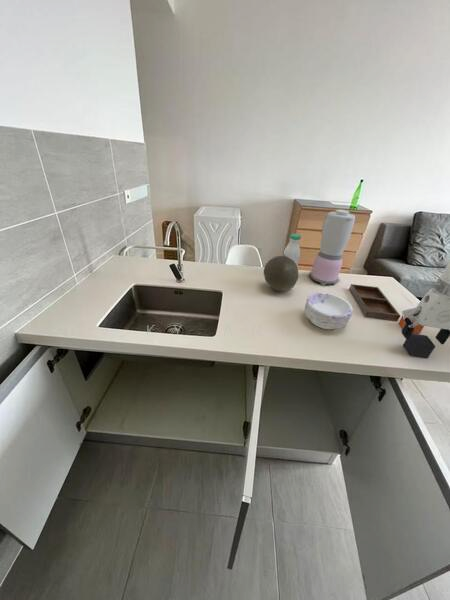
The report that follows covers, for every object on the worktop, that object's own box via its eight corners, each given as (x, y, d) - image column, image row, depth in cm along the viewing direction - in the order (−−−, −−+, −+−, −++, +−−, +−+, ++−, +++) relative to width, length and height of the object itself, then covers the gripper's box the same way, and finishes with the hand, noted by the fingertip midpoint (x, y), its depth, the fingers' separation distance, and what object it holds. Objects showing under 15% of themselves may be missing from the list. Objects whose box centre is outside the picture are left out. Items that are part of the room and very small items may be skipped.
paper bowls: (337, 341, 79) (345, 321, 74) (294, 321, 87) (299, 302, 83) (352, 321, 89) (359, 303, 84) (312, 305, 97) (317, 287, 93)
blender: (341, 285, 113) (366, 214, 97) (319, 287, 110) (340, 214, 94) (322, 271, 126) (340, 206, 110) (301, 272, 123) (316, 206, 107)
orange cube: (412, 325, 89) (419, 313, 86) (419, 333, 84) (426, 322, 82) (398, 323, 89) (404, 312, 86) (404, 331, 85) (410, 320, 82)
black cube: (419, 347, 78) (426, 335, 75) (427, 358, 74) (435, 346, 71) (402, 345, 79) (409, 333, 76) (410, 356, 74) (417, 343, 72)
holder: (375, 292, 109) (378, 287, 108) (397, 321, 90) (400, 315, 89) (349, 289, 110) (350, 284, 109) (364, 317, 92) (367, 311, 90)
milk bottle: (297, 274, 121) (306, 234, 111) (292, 279, 116) (301, 238, 105) (282, 270, 125) (290, 231, 114) (277, 275, 119) (284, 235, 108)
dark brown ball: (282, 280, 114) (288, 250, 106) (301, 295, 103) (309, 262, 95) (256, 284, 110) (260, 253, 102) (272, 300, 98) (278, 266, 91)
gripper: (425, 291, 62) (396, 342, 71) (500, 300, 60) (461, 351, 69) (411, 278, 68) (386, 326, 77) (478, 287, 67) (445, 335, 76)
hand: (421, 338), depth 73 cm, fingers open, 9 cm apart
